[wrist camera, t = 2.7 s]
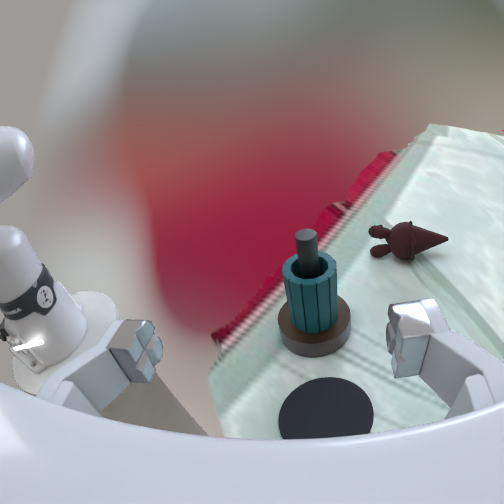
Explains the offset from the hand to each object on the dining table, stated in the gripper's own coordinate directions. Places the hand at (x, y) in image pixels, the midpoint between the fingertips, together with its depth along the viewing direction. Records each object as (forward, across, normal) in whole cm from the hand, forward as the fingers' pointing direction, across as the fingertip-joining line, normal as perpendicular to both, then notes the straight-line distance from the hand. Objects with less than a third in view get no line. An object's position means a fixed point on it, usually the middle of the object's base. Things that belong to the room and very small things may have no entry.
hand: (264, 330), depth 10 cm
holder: (+25, -1, +24) cm, 35 cm away
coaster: (+11, -2, +26) cm, 28 cm away
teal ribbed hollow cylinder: (+25, -1, +21) cm, 32 cm away
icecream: (+40, -19, +23) cm, 50 cm away
